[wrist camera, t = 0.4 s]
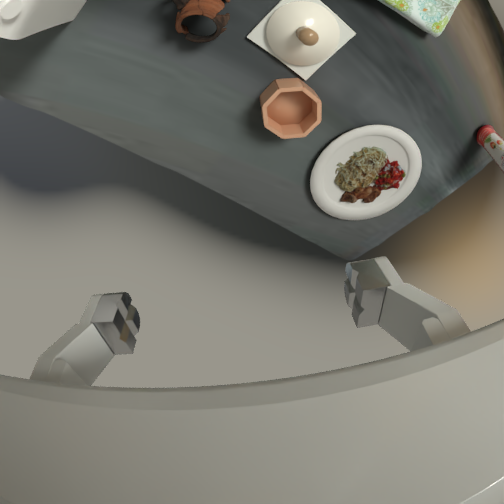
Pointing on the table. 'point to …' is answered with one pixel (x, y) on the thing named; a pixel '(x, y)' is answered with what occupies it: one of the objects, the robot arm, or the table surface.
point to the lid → (303, 33)
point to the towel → (425, 13)
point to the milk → (35, 16)
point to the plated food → (365, 172)
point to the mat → (304, 71)
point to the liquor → (492, 144)
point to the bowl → (290, 108)
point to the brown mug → (201, 3)
